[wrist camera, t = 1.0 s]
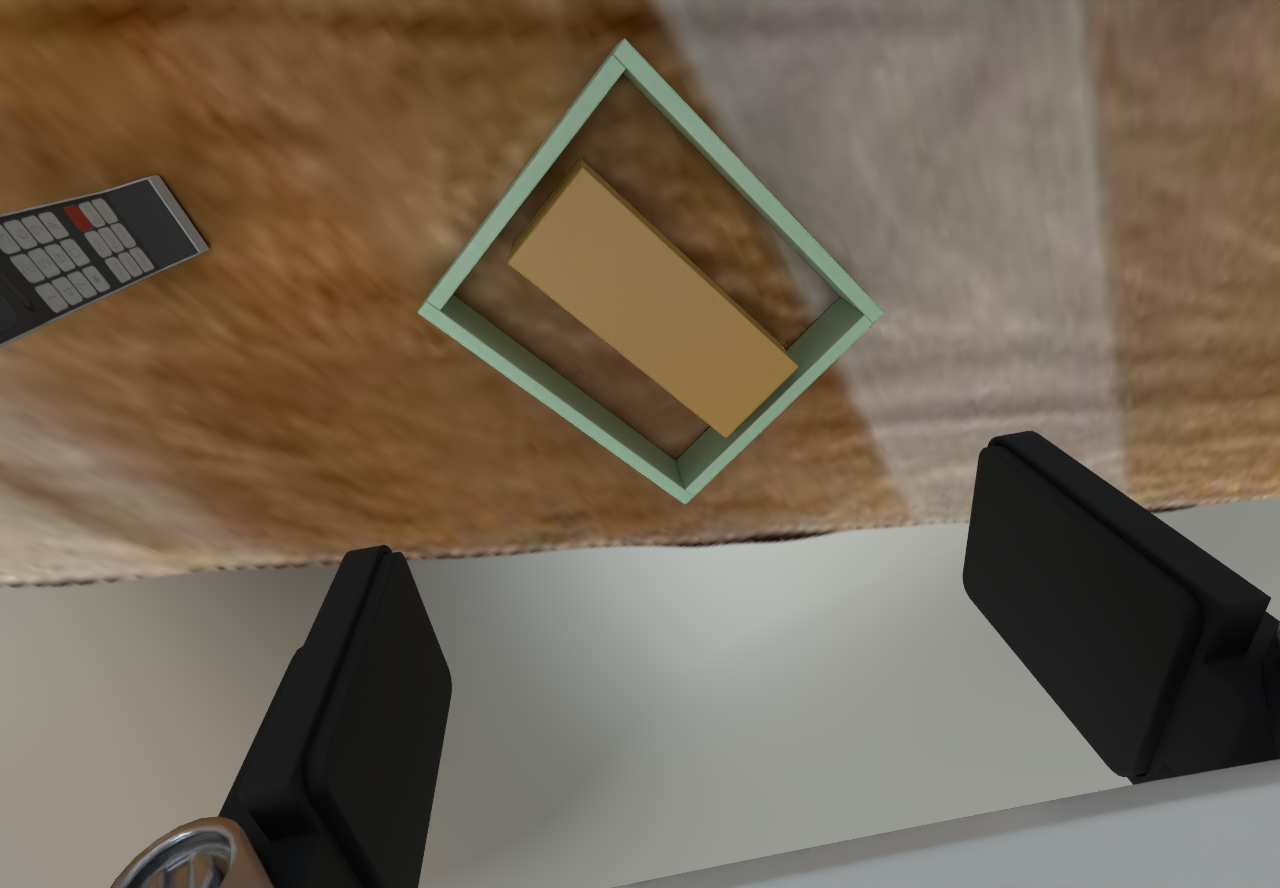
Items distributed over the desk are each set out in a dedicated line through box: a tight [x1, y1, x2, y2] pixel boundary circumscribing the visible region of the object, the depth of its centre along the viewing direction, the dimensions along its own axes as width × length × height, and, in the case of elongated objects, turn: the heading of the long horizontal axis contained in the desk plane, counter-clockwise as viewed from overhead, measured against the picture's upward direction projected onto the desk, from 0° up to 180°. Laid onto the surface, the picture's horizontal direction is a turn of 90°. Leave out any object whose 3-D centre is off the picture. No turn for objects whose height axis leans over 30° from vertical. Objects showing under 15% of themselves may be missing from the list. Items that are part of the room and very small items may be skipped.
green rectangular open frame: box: [418, 39, 884, 504], centre depth 35 cm, size 16×19×4 cm
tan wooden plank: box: [508, 158, 799, 438], centre depth 35 cm, size 6×15×4 cm, turn 48°
